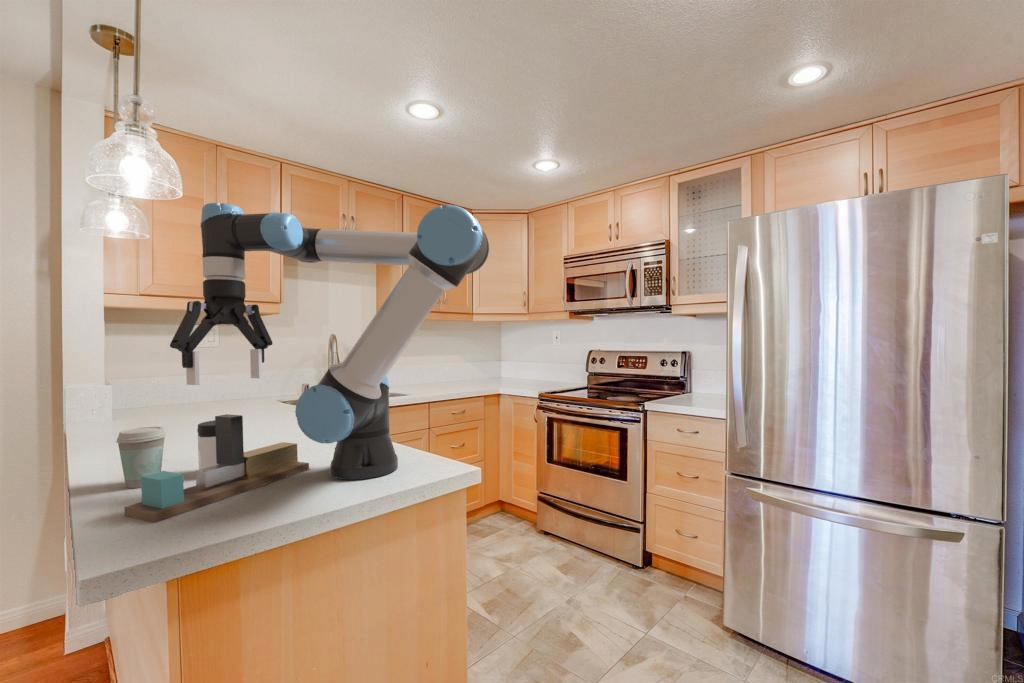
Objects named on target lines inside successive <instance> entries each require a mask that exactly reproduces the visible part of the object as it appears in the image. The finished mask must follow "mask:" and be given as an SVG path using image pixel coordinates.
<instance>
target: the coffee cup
mask: <svg viewBox="0 0 1024 683" xmlns="http://www.w3.org/2000/svg"><path fill="white" fill-rule="evenodd" d="M165 437H167V433H166V432H165V430H164V427H162V426H146V427H145V426H144V427H136V428H130V429H125V430H122V431H119V432H118V436H117V438H116V442H115V443H117V445H118V450H119V456H120V462H121V466H122V473H123V477H124V482H125V488H127V489H139V488H141V477H142V476H146V475H150V474H154V473H158V472H161V471H162V466H163V455H164V448H165V446H164V445H165Z"/></svg>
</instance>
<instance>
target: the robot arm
mask: <svg viewBox="0 0 1024 683" xmlns="http://www.w3.org/2000/svg"><path fill="white" fill-rule="evenodd" d="M200 218H201V220H200V229H201V230H200V231H201V243H202V254H201V255H202V258H201V259H202V277H203V278H205V279H204V280H203V281H202V294H203V298H204V301H203V302H202V301H199V300H193V301H192V300H191V301H188V302H187V303H186V312H185V314H184V315H183V318H182V320H181V322H180V324H179V326H178V328H177V330H176V332H175V334H174V335H173V337H172V339H171V341H170V343H169V347H170V348H171V349H176V350H178V351H179V352H180V353H181V366H182V368H183V369H186V370H185V372H186V374H185V375H186V385H187V386H191V385H192V386H199V385H200V359H199V358H200V355H199V353H200V352H199V351H194V350H195V349H196V348H197V347H198V346H199V344H200V343H201V342H202V341H203V339H204V338H205V337H206V336H207V335H208V333H210V331H211V330H212V329H213V327H215V326H216V325H233V326H234V327H236V328H237V329H238V331H240V333H241V334H242V335H243V337H244V338H245V339H246V340H247V341H248V342H249V344H250V345H251V346H252V348H251V349H249V350H250V352H249V355H250V356H249V357H250V378H251V379H263V363H265V350H266V349H268V347H269V346H272V345H273V340H272V337H271V336H270V334H269V332H268V330H267V327H266V326H265V323H264V321H263V319H262V317H261V315H260V308H259V305H258V304H247V305H246V304H245V299H246V295H247V294H246V283H245V282H244V281H243V280H245V279H246V263H245V262H246V261H245V258H246V257H245V256H246V253H245V252H271V253H274V254H278V255H281V256H284V257H288V258H291V259H294V260H297V261H299V262H303V263H306V264H307V263H309V264H316V263H319V262H331V263H333V262H334V263H351V264H352V263H353V264H354V263H355V264H371V265H372V264H373V265H374V264H375V265H389V266H390V265H391V266H408V267H407V268H406V269H405V271H404V272H403V274H402V276H401V277H400V278H399V280H398V282H397V283H396V284H395V286H394V287H393V289H392V290H391V292H390V293H389V294H388V296H387V298H386V299H385V300H384V302H383V303H382V305H381V306H380V307H379V309H378V311H377V312H376V313H375V315H374V316H373V318H372V319H371V320H370V323H369V324H367V326H366V327H365V330H364V331H363V332H362V334H361V335H360V337H359V338H358V340H357V341H356V343H355V344H354V345H353V347H352V348H351V350H350V351H349V352H348V354H347V356H346V357H345V358H344V360H343V361H342V362H337V363H333V364H332V365H330V366H329V368H328V369H327V370H326V372H325V373H324V375H323V376H322V378H321V379H320V381H319V382H318V384H316V385H312V386H310V387H309V388H307V389H306V390H305V391H304V392H302V393H301V395H300V396H299V398H298V399H297V401H296V405H295V418H296V420H297V425H298V427H299V429H300V430H301V431H302V433H303V434H304V435H305V436H306V437H307V438H308V439H310V440H312V441H314V442H316V443H319V444H333V443H336V442H337V443H336V445H335V449H334V453H333V457H332V460H331V461H330V464H329V465H330V467H329V468H330V470H329V471H330V475H331V477H333V478H335V479H340V480H349V481H350V480H365V479H373V478H377V477H378V478H379V477H383V476H385V475H388V474H391V473H392V472H395V471H396V470H397V469H398V467H399V461H398V460H399V459H398V456H397V453H396V452H395V448H394V445H393V442H392V441H393V440H392V439H391V436H390V395H389V394H390V392H389V390H390V385H389V379H388V374H389V372H390V370H391V369H392V368H393V367H394V364H395V363H396V362H397V360H398V359H399V358H400V356H401V354H403V352H404V350H405V349H406V347H407V346H408V345H409V344H410V342H411V341H412V339H413V338H414V336H415V335H416V333H417V332H418V331H419V329H420V328H421V326H422V325H423V323H424V321H425V320H426V319H427V318H428V317H429V315H430V313H431V312H432V310H433V309H434V307H435V306H436V304H437V303H438V302H439V300H440V299H441V297H442V296H443V295H444V294H445V292H446V291H449V290H453V289H457V288H458V286H459V285H460V283H461V282H462V280H464V277H466V275H469V274H473V273H475V272H478V271H479V269H481V268H482V267H483V266H484V264H485V263H486V262H487V258H488V257H489V253H490V245H489V240H488V239H489V238H488V237H487V234H486V233H485V231H484V230H483V229H482V227H481V224H480V222H479V221H478V219H477V218H476V217H475V216H474V215H472V213H470V212H469V211H468V210H466V209H464V208H463V207H461V206H458V205H454V204H445V205H444V204H443V205H439V206H435V207H434V208H432V209H430V210H429V211H427V212H426V213H425V214H424V216H422V218H421V220H420V222H419V223H418V226H417V229H416V232H414V231H413V232H410V231H407V232H406V231H386V230H363V229H362V230H360V229H359V230H358V229H340V228H338V229H337V228H335V229H332V228H331V229H330V228H314V227H312V228H310V227H309V228H308V227H303V226H302V224H301V222H300V221H299V220H298V218H297V216H295V215H294V214H292V213H288V212H279V211H278V212H277V211H275V212H274V211H273V212H268V213H251V214H250V213H246V214H244V210H243V209H242V208H241V207H239V206H237V205H235V204H230V203H220V202H209V203H206V204H204V205H203V206H202V209H201V217H200ZM203 311H204V313H205V315H204V317H203V318H202V319H201V320H200V323H199V325H198V326H197V327H196V328H195V329H194V327H195V326H196V324H197V322H198V320H199V317H200V315H201V313H203ZM244 314H246V315H247V318H248V319H247V318H246V317H245V315H244ZM249 323H250V324H251V325H250V324H249Z"/></svg>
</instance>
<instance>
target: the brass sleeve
mask: <svg viewBox="0 0 1024 683" xmlns="http://www.w3.org/2000/svg"><path fill="white" fill-rule="evenodd" d="M244 460H246V475H244V476H241V477H237V478H241V479H248V480H249V479H252V478H255V477H258V476H261V475H264V474H267V473H271V472H274V471H277V470H280V469H283V468H286V467H289V466H292V465H295V464H298V462H299V461H298V443H294V442H285V441H284V442H279V443H278V442H277V443H275V444H269V445H266V446H264V447H259V448H256V449H252V450H248V451H244Z"/></svg>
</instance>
